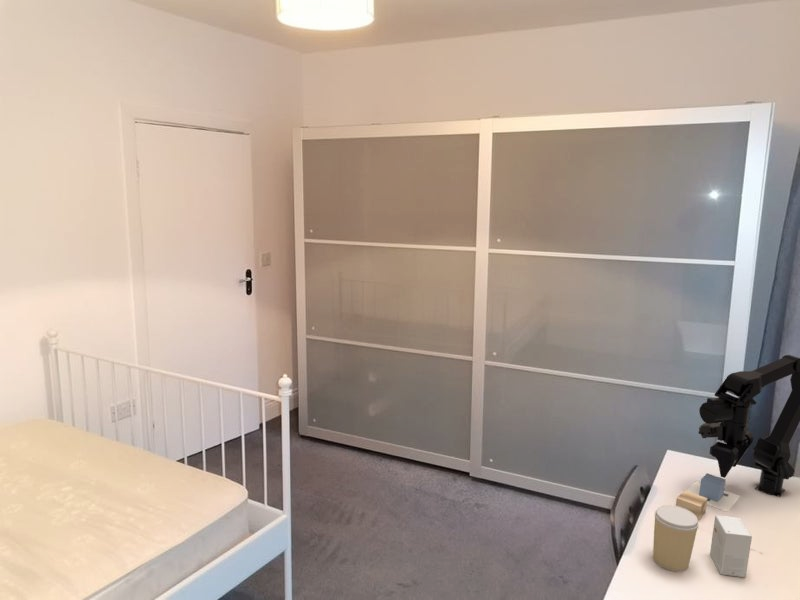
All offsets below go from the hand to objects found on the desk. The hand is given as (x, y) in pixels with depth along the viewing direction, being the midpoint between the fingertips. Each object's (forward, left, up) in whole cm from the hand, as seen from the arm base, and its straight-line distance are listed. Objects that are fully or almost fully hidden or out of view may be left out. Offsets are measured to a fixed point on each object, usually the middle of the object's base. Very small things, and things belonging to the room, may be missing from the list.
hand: (728, 471), depth 171 cm
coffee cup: (+41, 0, -8) cm, 42 cm away
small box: (+33, +10, -9) cm, 36 cm away
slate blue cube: (+2, -3, -8) cm, 8 cm away
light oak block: (+16, -4, -8) cm, 19 cm away
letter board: (+2, -3, -8) cm, 9 cm away
